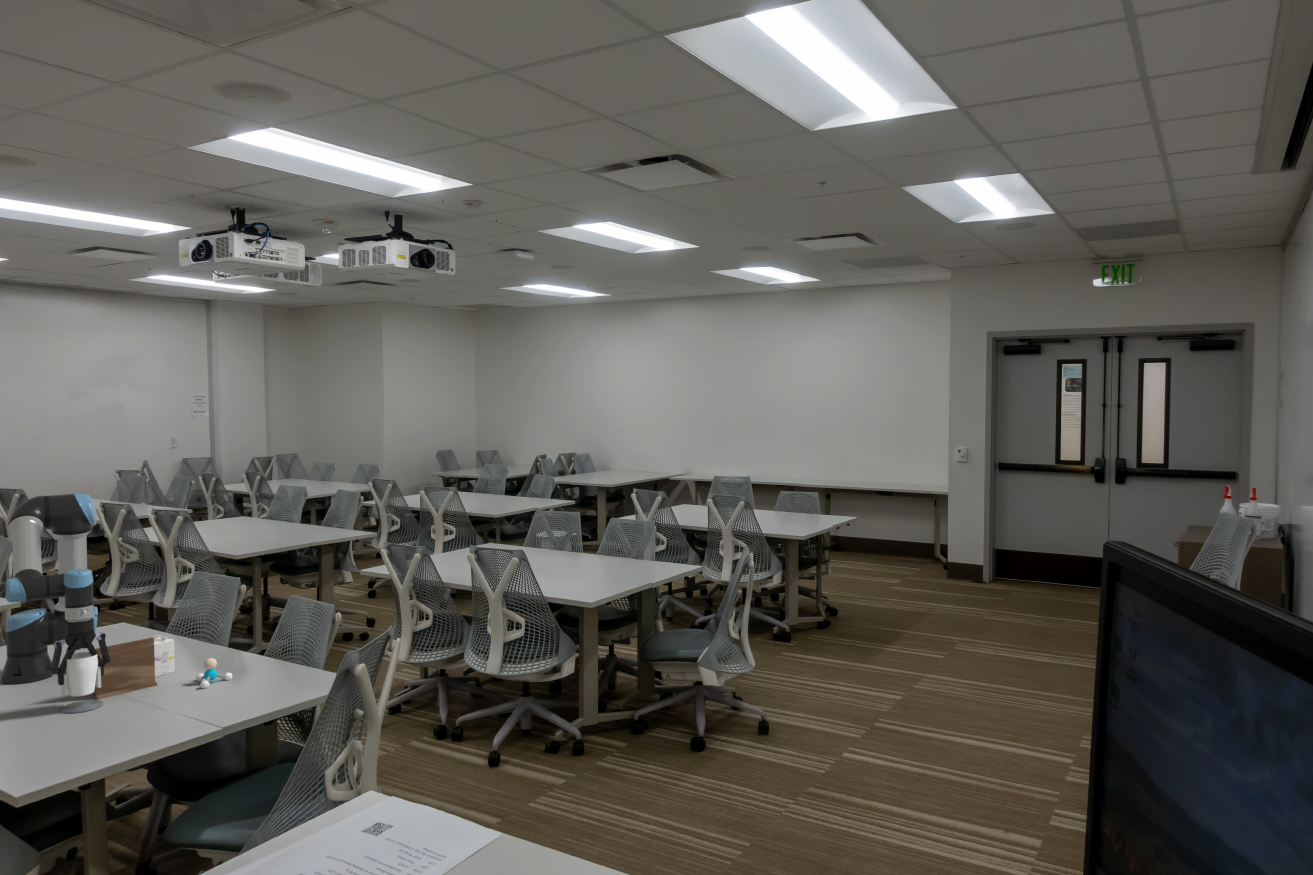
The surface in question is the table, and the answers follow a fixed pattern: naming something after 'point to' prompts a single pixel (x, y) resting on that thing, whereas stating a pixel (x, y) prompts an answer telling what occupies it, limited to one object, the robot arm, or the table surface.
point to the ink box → (163, 655)
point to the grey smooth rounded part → (81, 706)
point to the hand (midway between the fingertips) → (81, 690)
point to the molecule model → (210, 673)
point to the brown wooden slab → (127, 668)
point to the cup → (81, 674)
